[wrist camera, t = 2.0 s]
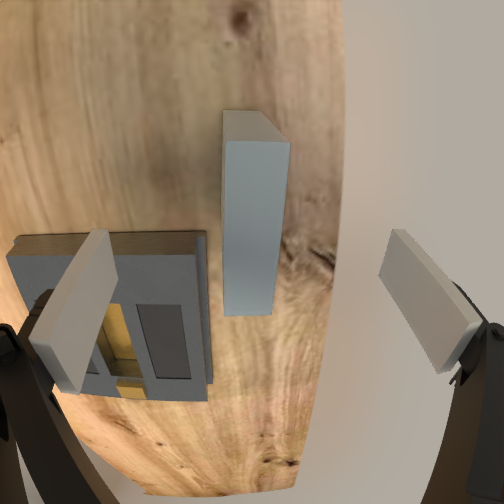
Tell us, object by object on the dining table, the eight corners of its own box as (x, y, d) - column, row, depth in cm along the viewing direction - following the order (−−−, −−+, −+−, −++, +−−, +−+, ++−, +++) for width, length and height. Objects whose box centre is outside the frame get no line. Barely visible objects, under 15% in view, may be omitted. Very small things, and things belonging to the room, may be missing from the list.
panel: (223, 109, 20) (225, 140, 11) (260, 110, 20) (290, 142, 12) (221, 225, 25) (224, 316, 16) (253, 225, 25) (271, 314, 17)
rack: (17, 236, 23) (-3, 259, 19) (205, 231, 25) (203, 259, 21) (76, 371, 34) (69, 395, 30) (212, 378, 35) (213, 405, 32)
